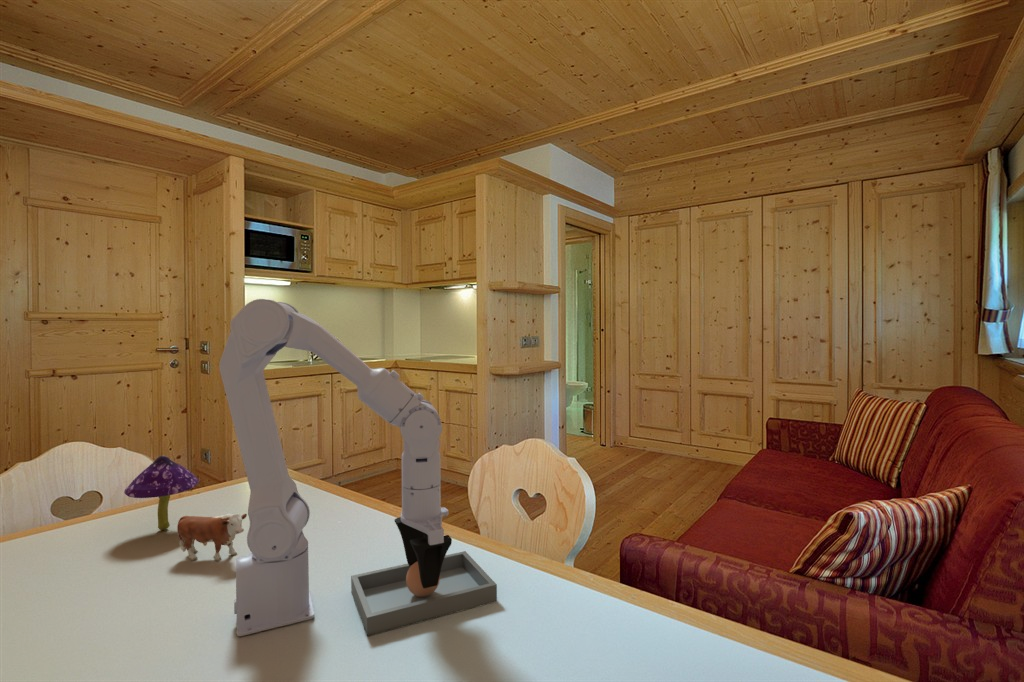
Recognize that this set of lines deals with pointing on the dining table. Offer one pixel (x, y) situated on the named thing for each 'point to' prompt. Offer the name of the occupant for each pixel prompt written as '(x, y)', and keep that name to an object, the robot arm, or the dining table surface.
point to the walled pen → (395, 606)
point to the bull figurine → (209, 532)
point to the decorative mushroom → (161, 485)
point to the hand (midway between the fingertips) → (422, 574)
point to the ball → (417, 582)
